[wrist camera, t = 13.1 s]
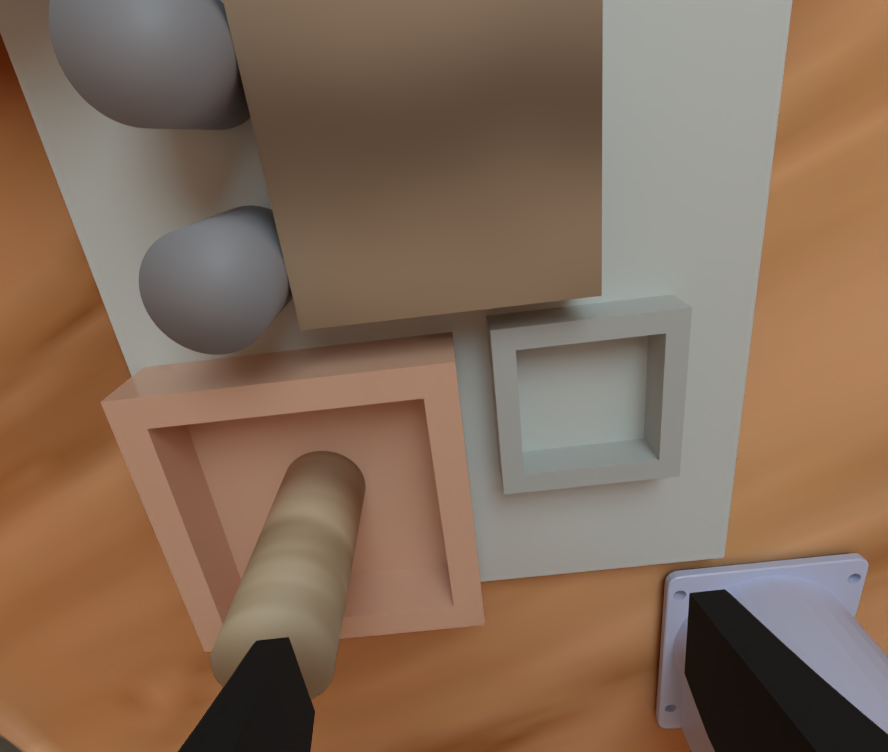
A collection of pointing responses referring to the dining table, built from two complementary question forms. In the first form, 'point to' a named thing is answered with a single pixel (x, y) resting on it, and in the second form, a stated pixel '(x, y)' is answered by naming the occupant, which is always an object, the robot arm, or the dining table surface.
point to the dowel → (299, 570)
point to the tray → (292, 435)
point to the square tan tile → (427, 151)
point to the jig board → (474, 332)
